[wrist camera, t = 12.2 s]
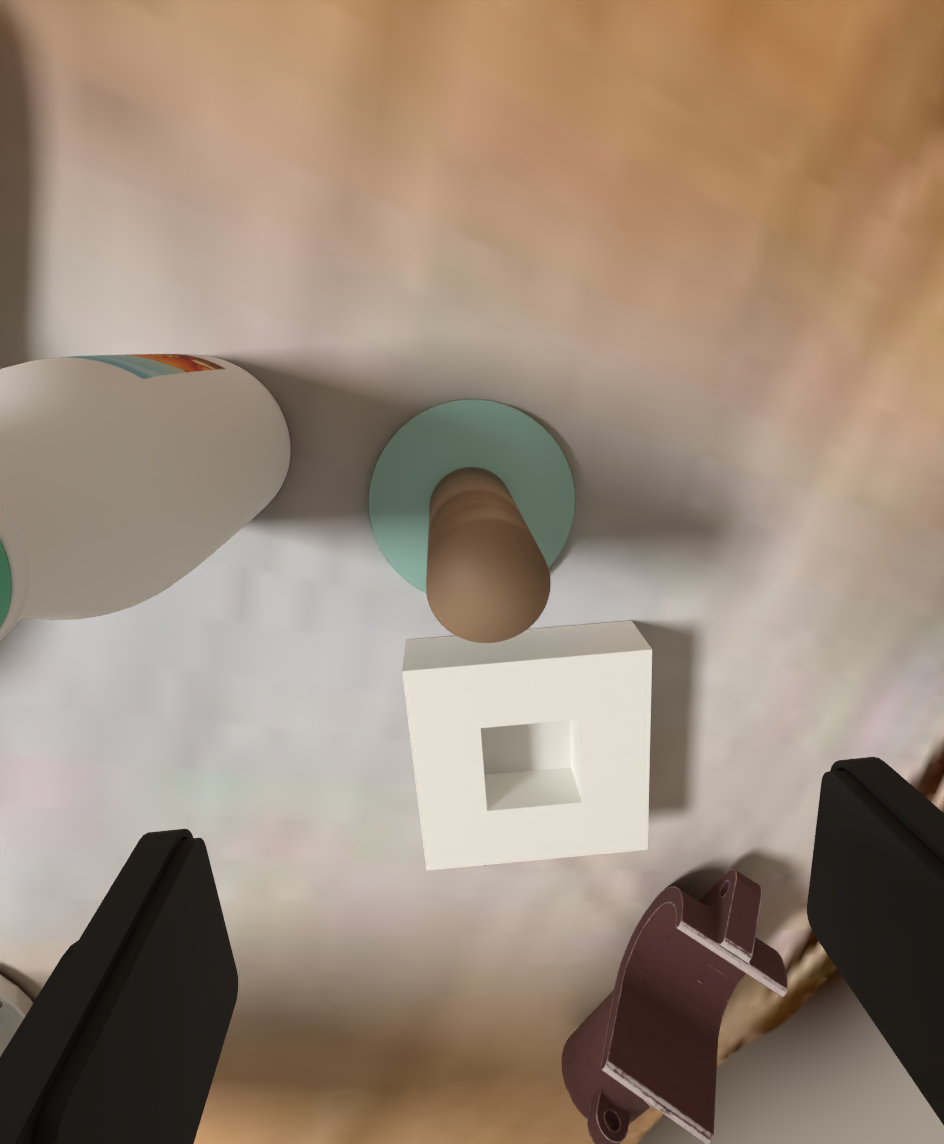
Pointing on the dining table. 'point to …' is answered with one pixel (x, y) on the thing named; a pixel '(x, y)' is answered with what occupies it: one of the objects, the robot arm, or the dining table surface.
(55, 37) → the dining table surface
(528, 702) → the pocket block
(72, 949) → the robot arm
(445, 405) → the felt pad
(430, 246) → the dining table surface
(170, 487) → the milk bottle
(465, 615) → the walnut dowel
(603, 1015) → the bracket
